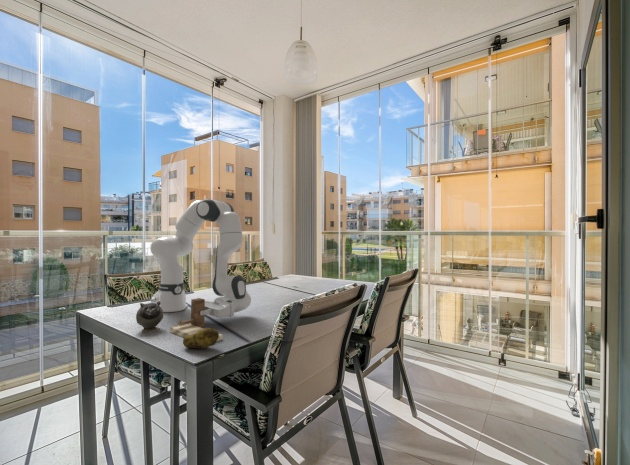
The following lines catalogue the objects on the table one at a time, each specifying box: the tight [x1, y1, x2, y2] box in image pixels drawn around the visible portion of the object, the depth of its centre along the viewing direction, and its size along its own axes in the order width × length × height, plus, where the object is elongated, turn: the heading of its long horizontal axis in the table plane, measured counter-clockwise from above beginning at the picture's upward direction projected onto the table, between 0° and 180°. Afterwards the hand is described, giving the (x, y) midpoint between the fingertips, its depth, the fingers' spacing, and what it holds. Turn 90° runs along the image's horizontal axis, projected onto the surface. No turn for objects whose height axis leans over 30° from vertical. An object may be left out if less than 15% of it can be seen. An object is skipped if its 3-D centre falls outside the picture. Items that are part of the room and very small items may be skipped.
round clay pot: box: [135, 301, 164, 333], centre depth 136 cm, size 10×12×10 cm
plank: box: [169, 323, 223, 343], centre depth 131 cm, size 24×8×2 cm, turn 55°
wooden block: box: [177, 297, 206, 328], centre depth 138 cm, size 4×11×12 cm, turn 145°
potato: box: [182, 327, 220, 350], centre depth 117 cm, size 8×13×8 cm, turn 60°
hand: (196, 312), depth 140 cm, fingers closed on wooden block, 4 cm apart
